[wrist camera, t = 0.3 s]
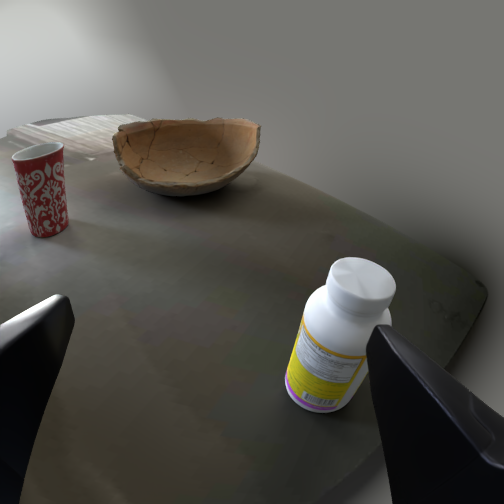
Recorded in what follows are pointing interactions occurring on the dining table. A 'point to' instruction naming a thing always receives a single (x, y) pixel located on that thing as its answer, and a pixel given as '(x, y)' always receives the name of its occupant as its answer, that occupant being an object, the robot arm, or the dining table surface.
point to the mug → (42, 187)
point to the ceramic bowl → (185, 153)
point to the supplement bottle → (338, 334)
